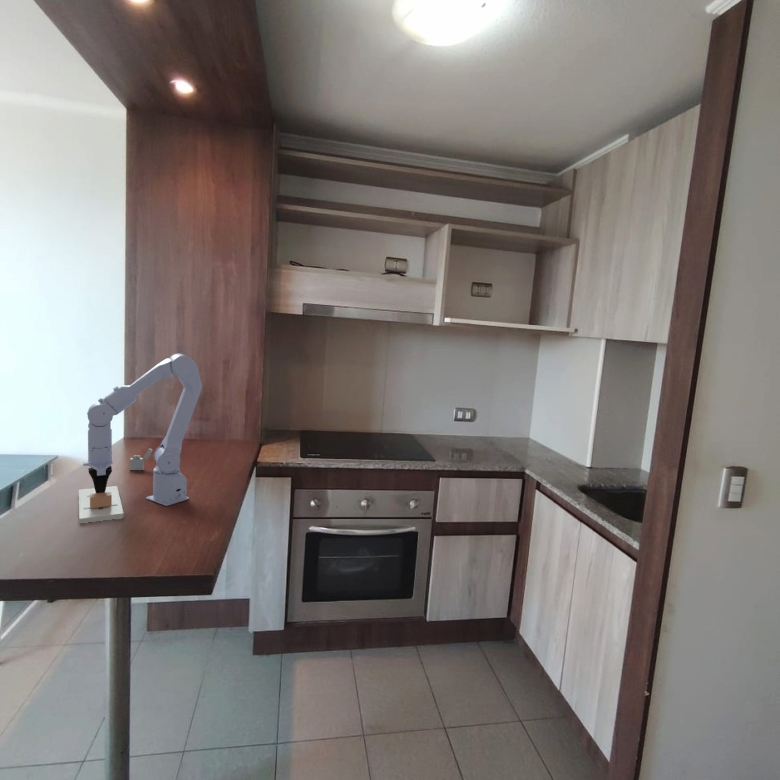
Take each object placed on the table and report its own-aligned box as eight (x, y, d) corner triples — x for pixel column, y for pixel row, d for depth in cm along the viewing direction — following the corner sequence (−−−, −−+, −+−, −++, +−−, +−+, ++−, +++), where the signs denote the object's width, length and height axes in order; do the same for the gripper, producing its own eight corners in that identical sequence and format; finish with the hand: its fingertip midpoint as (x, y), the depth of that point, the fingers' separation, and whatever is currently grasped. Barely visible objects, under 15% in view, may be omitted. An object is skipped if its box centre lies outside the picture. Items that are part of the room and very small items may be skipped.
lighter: (129, 470, 170) (129, 448, 169) (130, 469, 171) (131, 447, 170) (151, 470, 172) (151, 448, 171) (152, 469, 173) (153, 447, 172)
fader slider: (89, 504, 133) (89, 493, 133) (110, 502, 136) (110, 491, 135) (90, 508, 131) (90, 497, 130) (111, 505, 133) (111, 495, 133)
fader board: (78, 494, 145) (78, 489, 145) (116, 490, 150) (117, 485, 150) (79, 524, 125) (79, 518, 125) (123, 518, 130) (123, 512, 130)
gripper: (82, 441, 139) (83, 486, 141) (83, 453, 127) (84, 503, 129) (111, 439, 143) (111, 483, 145) (114, 451, 131) (114, 499, 133)
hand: (100, 492), depth 137 cm, fingers closed
